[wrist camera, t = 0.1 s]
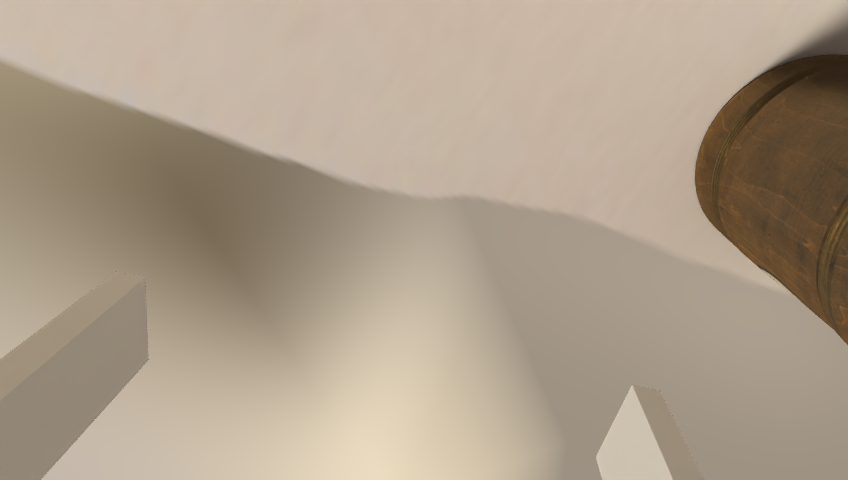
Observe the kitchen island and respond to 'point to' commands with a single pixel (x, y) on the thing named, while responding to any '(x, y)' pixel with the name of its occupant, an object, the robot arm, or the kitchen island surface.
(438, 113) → the kitchen island surface
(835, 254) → the wooden container
